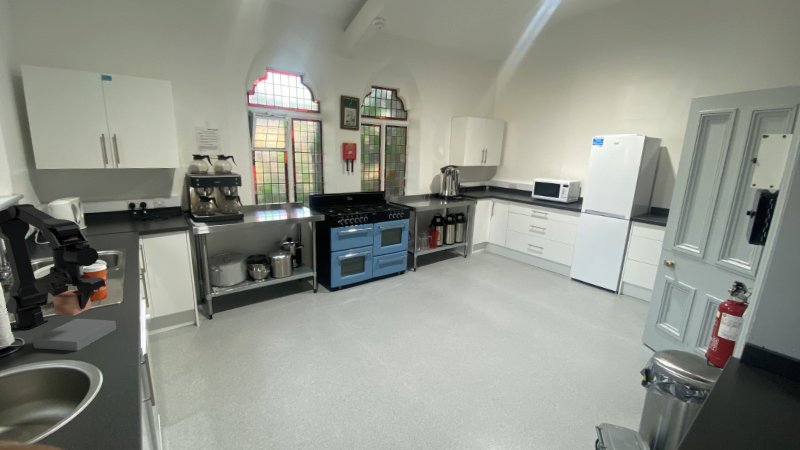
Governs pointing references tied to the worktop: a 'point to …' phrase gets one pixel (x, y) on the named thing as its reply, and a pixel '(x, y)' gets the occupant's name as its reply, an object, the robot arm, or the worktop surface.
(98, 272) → the paper cup
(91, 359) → the worktop surface
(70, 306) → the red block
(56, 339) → the plinth
